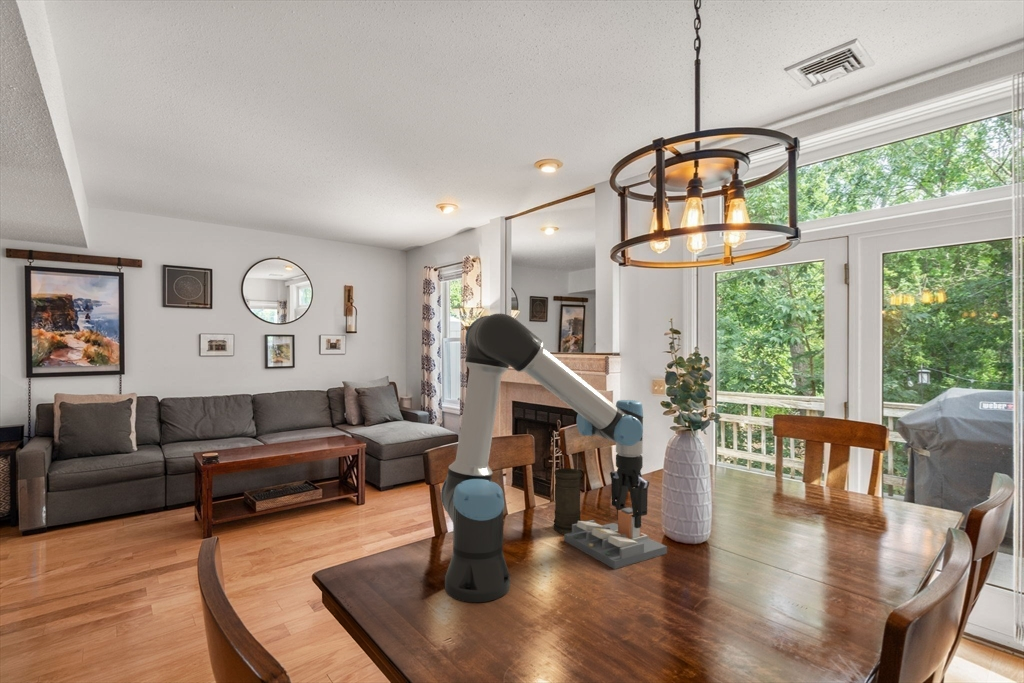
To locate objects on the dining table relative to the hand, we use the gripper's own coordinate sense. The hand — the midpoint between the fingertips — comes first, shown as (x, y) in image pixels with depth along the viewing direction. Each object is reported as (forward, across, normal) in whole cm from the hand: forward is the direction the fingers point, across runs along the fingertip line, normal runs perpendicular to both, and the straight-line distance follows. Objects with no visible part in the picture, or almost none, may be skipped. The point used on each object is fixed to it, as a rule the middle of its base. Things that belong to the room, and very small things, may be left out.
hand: (628, 535), depth 141 cm
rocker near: (-2, -7, +9) cm, 11 cm away
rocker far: (-2, +7, +9) cm, 11 cm away
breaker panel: (+2, 0, +6) cm, 6 cm away
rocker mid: (-2, 0, +9) cm, 9 cm away
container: (+2, +18, +9) cm, 20 cm away
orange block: (0, 0, 0) cm, 0 cm away
